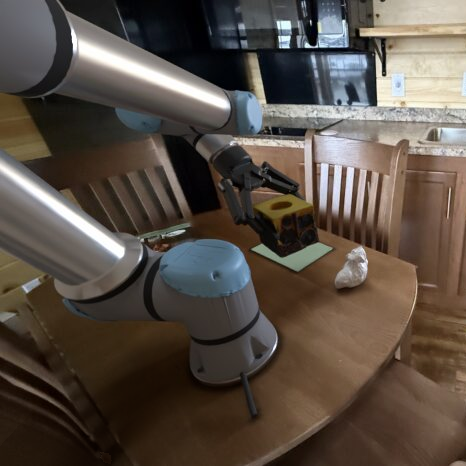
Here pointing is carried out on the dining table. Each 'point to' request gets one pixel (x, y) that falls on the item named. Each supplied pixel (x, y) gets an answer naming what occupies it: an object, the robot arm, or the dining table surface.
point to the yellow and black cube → (288, 224)
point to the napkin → (295, 255)
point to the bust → (353, 269)
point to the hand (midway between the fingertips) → (295, 227)
